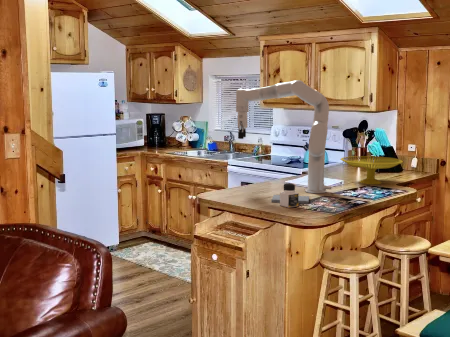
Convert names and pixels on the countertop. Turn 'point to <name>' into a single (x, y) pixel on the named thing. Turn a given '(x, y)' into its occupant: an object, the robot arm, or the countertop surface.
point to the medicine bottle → (289, 196)
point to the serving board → (300, 199)
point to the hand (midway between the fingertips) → (241, 137)
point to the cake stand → (371, 166)
